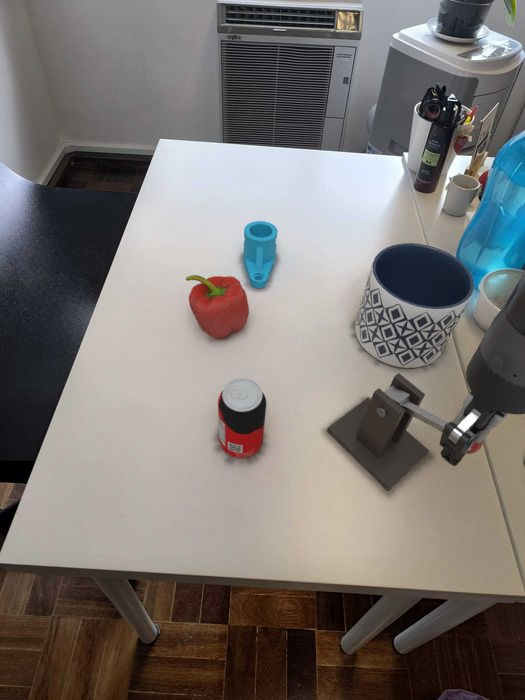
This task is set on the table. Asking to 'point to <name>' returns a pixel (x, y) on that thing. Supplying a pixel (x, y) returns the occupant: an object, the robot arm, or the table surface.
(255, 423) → the beverage can
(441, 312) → the planter
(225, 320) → the vegetable
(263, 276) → the bracket
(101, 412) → the table surface
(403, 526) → the table surface
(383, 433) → the grey lever stand
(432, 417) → the tap lever
